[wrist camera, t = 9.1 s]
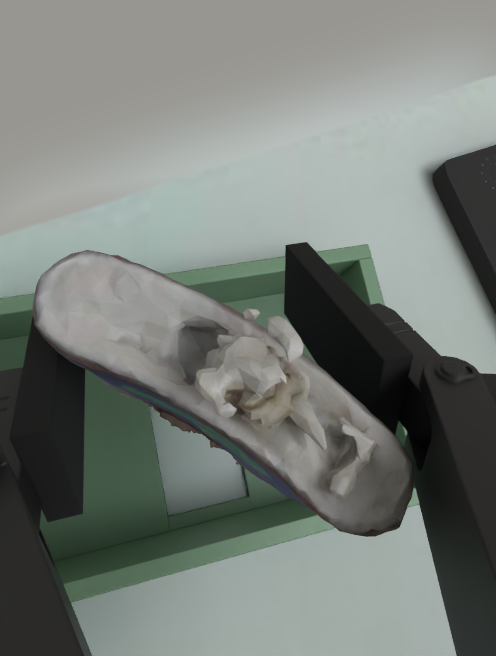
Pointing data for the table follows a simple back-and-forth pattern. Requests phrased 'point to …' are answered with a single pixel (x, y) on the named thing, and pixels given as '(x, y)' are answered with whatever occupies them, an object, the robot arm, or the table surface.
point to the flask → (228, 386)
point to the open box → (142, 461)
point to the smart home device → (473, 209)
